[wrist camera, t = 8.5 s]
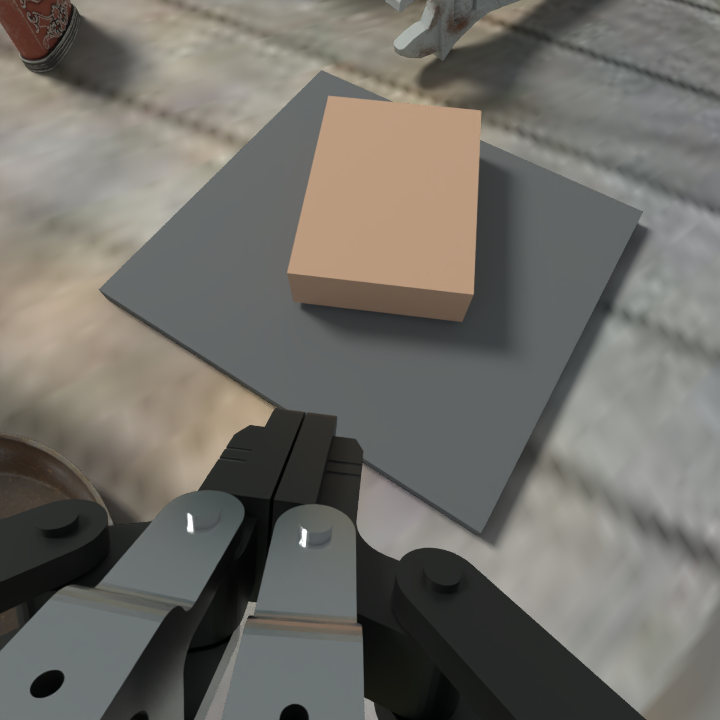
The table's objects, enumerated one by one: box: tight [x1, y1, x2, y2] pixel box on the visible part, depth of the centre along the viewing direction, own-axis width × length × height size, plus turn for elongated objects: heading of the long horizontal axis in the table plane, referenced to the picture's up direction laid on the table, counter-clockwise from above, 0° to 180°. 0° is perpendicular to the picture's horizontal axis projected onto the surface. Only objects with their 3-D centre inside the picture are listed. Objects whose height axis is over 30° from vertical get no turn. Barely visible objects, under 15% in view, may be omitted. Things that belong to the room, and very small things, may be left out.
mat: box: [99, 70, 643, 535], centre depth 31 cm, size 26×24×1 cm
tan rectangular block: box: [287, 96, 481, 322], centre depth 30 cm, size 3×10×14 cm
